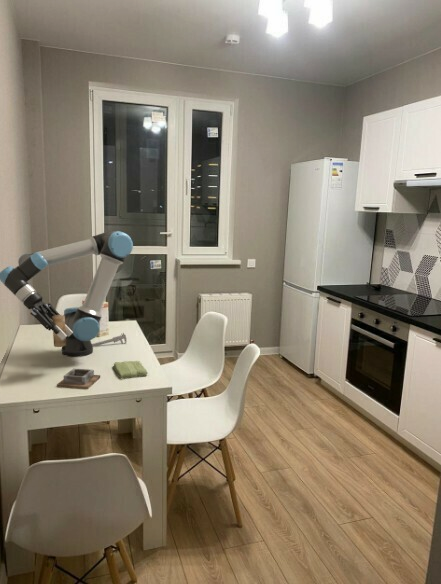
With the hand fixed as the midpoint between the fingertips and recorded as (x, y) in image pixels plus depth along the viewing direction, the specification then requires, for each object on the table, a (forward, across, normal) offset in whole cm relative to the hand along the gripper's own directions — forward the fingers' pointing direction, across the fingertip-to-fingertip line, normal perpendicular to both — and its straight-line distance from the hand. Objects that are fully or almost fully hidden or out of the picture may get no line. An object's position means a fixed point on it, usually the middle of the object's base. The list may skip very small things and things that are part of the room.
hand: (67, 336), depth 186 cm
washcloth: (+30, -8, +5) cm, 31 cm away
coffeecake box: (+2, -63, -22) cm, 67 cm away
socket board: (+18, +9, -6) cm, 21 cm away
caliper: (+13, -43, -12) cm, 47 cm away
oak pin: (0, 0, -6) cm, 6 cm away
